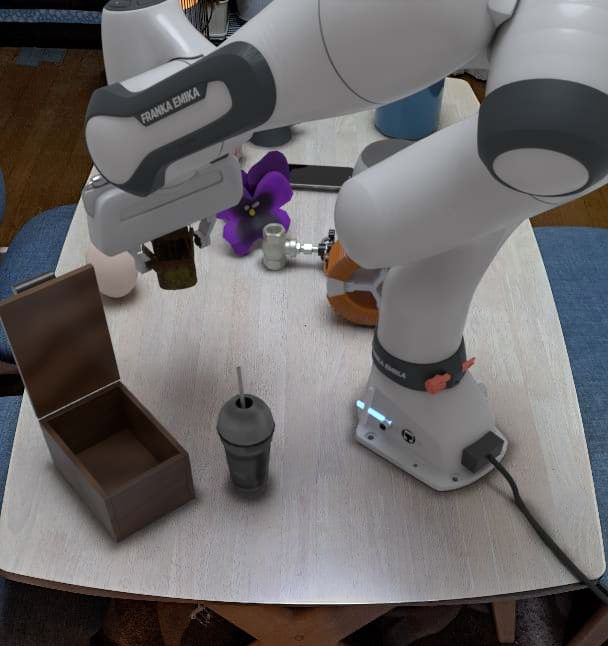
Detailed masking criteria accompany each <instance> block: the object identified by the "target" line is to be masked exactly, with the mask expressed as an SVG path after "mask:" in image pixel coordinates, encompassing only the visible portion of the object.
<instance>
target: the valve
mask: <svg viewBox="0 0 608 646" xmlns="http://www.w3.org/2000/svg"><path fill="white" fill-rule="evenodd" d="M263 238H264V239H262V243H261V250H262V253H263V264H264V265H265V267H266V268H267V269H268V270H271V271H272V270H273V271H278V270H282V269H283V268H284V267H285V266H286V265H287V256H289V258H295V259H296V258H297V255H300V254H301V253H303V255H313V253H317V256H318V257H320V258H319V259H320V260H321V261H322V262H323V263H324V253H325V250H326V260H325V265H326V269H328V261H329V252H330V250H331V248H332V246H333V244H335V242H336V230H335V229H333V228H332V229H328V233H327V236H325V237H323V238H322V239H321V241H320V242H318V243H317V244H318V246H317V245H313V243H310V242H309V243H307V242H304V244H301V242H298V239H297V238H295V237H293V238H292V237H291V238H290V239H289V240H288V239H287V233H286V230H285V228H284V227H283V226H282V225H281V224H277V223H271V224H268V225H266V226H265V227H264V228H263ZM325 242H328V243H325Z"/></svg>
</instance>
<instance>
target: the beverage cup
mask: <svg viewBox="0 0 608 646" xmlns="http://www.w3.org/2000/svg"><path fill="white" fill-rule="evenodd" d="M236 376H237V377H236V378H237V383H238V393H239V394H236V395H234V396H232V397H230V398H229V399H228V400H226V401H225V402H224V403H223V405H222V406H221V408H220V410H219V412H218V416H217V422H216V426H215V427H216V432H217V435H218V436H219V439H220V441H221V444H222V446H223V449H224V454H225V457H226V458H225V459H226V464H227V468H228V471H229V475H230V481H231V483H232V487H233V490H234V492H235V493H236V494H237V495H238V496H240V497H242V498H245V499H254V498H258V497H260V496H262V495H263V493H264V492H265V491H266V489H267V485H268V479H269V469H270V457H271V444H272V441H273V438H274V433H275V430H276V422H275V419H274V415H273V413H272V409H271V407H270V406H269V405H268V404H267V403H266V402H265V401H264V400H263V399H262V398H261V397H259V396H257V395H254V394H251V393H244V385H243V375H242V367H241V366H236Z"/></svg>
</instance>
